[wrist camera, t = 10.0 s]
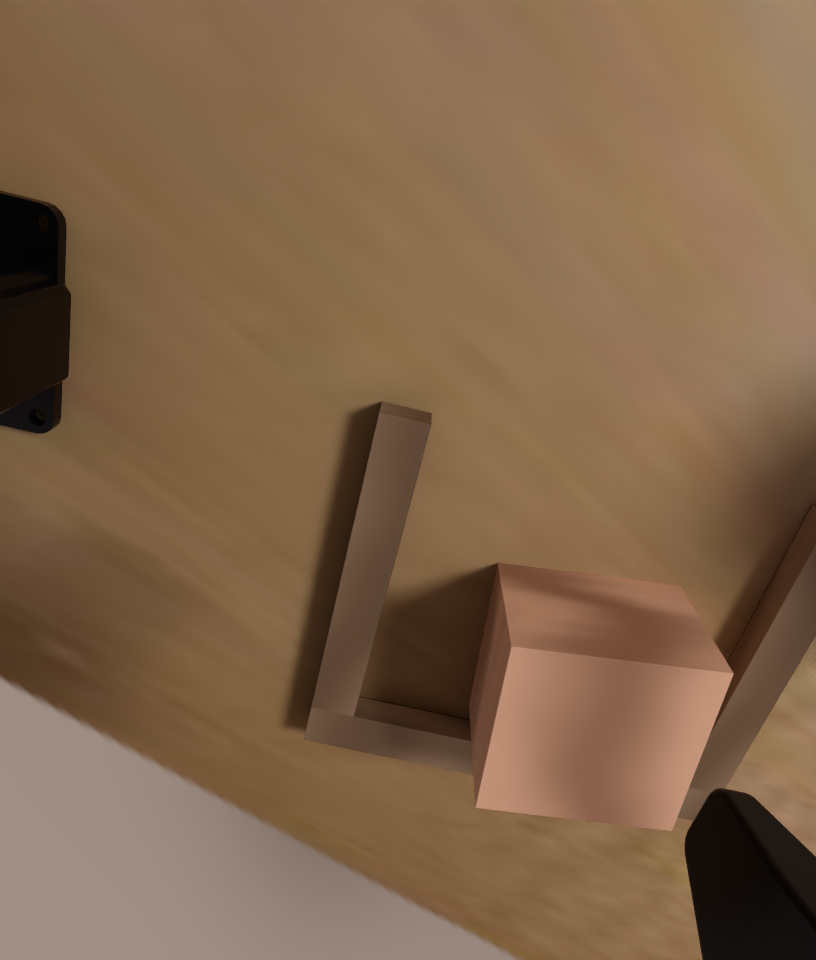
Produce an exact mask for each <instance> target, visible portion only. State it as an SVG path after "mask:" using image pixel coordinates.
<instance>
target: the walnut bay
mask: <svg viewBox="0 0 816 960" xmlns="http://www.w3.org/2000/svg"><path fill="white" fill-rule="evenodd" d="M431 414H432V413H427V412H423V411H419V410H415V409H411V408H406V407H402V406H398V405H394V404H390V403H386V402H382V404H381V408H380V412H379V416H378V420H377V425H376V429H375V433H374V438H373V442H372V446H371V451H370V455H369V459H368V464H367V468H366V472H365V477H364V481H363V485H362V490H361V494H360V498H359V503H358V507H357V511H356V516H355V520H354V524H353V529H352V533H351V537H350V542H349V546H348V550H347V555H346V559H345V563H344V568H343V572H342V576H341V581H340V585H339V589H338V594H337V598H336V602H335V607H334V611H333V615H332V620H331V624H330V628H329V633H328V637H327V641H326V646H325V650H324V654H323V659H322V663H321V667H320V672H319V676H318V680H317V685H316V689H315V693H314V698H313V702H312V706H311V711H310V715H309V719H308V724H307V728H306V732H305V737H304V740H309V741H314V742H319V743H323V744H328V745H333V746H338V747H343V748H347V749H352V750H357V751H362V752H367V753H371V754H376V755H381V756H386V757H391V758H395V759H400V760H405V761H410V762H415V763H419V764H424V765H429V766H434V767H439V768H443V769H448V770H453V771H458V772H463V773H467V774H472V775H473V761H472V745H471V730H470V721H469V720H465V719H460V718H455V717H451V716H446V715H441V714H437V713H432V712H427V711H423V710H418V709H413V708H408V707H404V706H399V705H394V704H390V703H385V702H380V701H376V700H371V699H366V698H362V697H359V694H360V691H361V687H362V683H363V679H364V676H365V672H366V668H367V664H368V661H369V657H370V653H371V649H372V646H373V642H374V638H375V634H376V630H377V627H378V623H379V619H380V615H381V612H382V608H383V604H384V600H385V597H386V593H387V589H388V585H389V582H390V578H391V574H392V570H393V567H394V563H395V559H396V555H397V551H398V548H399V544H400V540H401V536H402V533H403V529H404V525H405V521H406V518H407V514H408V510H409V506H410V503H411V499H412V495H413V491H414V488H415V484H416V480H417V476H418V472H419V469H420V465H421V461H422V457H423V454H424V450H425V446H426V442H427V439H428V435H429V431H430V427H431ZM815 636H816V506H815V505H812V506H811V508H810V510H809V512H808V514H807V516H806V517H805V519H804V521H803V523H802V525H801V527H800V529H799V531H798V532H797V534H796V536H795V538H794V540H793V542H792V544H791V545H790V547H789V549H788V551H787V553H786V555H785V557H784V558H783V560H782V562H781V564H780V566H779V568H778V570H777V571H776V573H775V575H774V577H773V579H772V581H771V583H770V584H769V586H768V588H767V590H766V592H765V594H764V596H763V597H762V599H761V601H760V603H759V605H758V607H757V609H756V610H755V612H754V614H753V616H752V618H751V620H750V622H749V623H748V625H747V627H746V629H745V631H744V633H743V635H742V636H741V638H740V640H739V642H738V644H737V646H736V648H735V649H734V651H733V653H732V655H731V657H730V659H729V661H728V665H729V667H730V668H731V670H732V671H733V673H734V674H733V677H732V679H731V682H730V685H729V687H728V690H727V692H726V695H725V697H724V700H723V702H722V705H721V707H720V710H719V712H718V715H717V718H716V720H715V723H714V725H713V728H712V730H711V733H710V735H709V738H708V740H707V743H706V746H705V748H704V751H703V753H702V756H701V758H700V761H699V763H698V766H697V768H696V771H695V773H694V776H693V779H692V781H691V784H690V786H689V789H688V791H687V794H686V796H685V799H684V801H683V804H682V807H681V809H680V812H679V814H678V818H683V819H688V820H693V821H694V819H695V817H696V816H697V814H698V812H699V811H700V809H701V807H702V805H703V804H704V802H705V800H706V799H707V797H708V795H709V794H710V792H712V791H713V790H715V789H716V788H724V789H725V788H726V786H727V784H728V783H729V781H730V779H731V778H732V776H733V774H734V773H735V771H736V769H737V768H738V766H739V764H740V762H741V761H742V759H743V757H744V756H745V754H746V752H747V751H748V749H749V747H750V746H751V744H752V742H753V741H754V739H755V737H756V735H757V734H758V732H759V730H760V729H761V727H762V725H763V724H764V722H765V720H766V719H767V717H768V715H769V714H770V712H771V710H772V708H773V707H774V705H775V703H776V702H777V700H778V698H779V697H780V695H781V693H782V692H783V690H784V688H785V687H786V685H787V683H788V681H789V680H790V678H791V676H792V675H793V673H794V671H795V670H796V668H797V666H798V665H799V663H800V661H801V660H802V658H803V656H804V654H805V653H806V651H807V649H808V648H809V646H810V644H811V643H812V641H813V639H814V638H815Z"/></svg>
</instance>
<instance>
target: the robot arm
mask: <svg viewBox="0 0 816 960" xmlns="http://www.w3.org/2000/svg"><path fill="white" fill-rule="evenodd" d="M40 214H43V215H45V216H46V218H47V219H48V221H49V225H50V226H49V229H48V231H44V230H42V228H41V227H40V226H39V223H38V217H39V215H40ZM65 258H66V221H65V218H64V216H63V214H62V212H61V211H60V210H59V209H58V208H57V207H56V206H55V205H52V204H50V203H48V202H44V201H40V200H36V199H32V198H28V197H24V196H20V195H16V194H12V193H8V192H4V191H0V425H4V426H8V427H13V428H17V429H21V430H26V431H30V432H34V433H46V432H48V431H50V430H52V429H53V428H55V427H56V426H57V425H58V424H59V423H60V419H61V400H62V381H63V380H64V379H66V378H67V377H68V372H69V341H70V310H71V294H70V292H69V290H68V289H67V287H66V286H65ZM36 409H38V410H40V411H42V413H43V414H44V415H45V418H46V421H42V420H40V419H39V418H38V417H37V415H36ZM685 857H686V863H687V869H688V875H689V881H690V887H691V893H692V899H693V905H694V911H695V917H696V923H697V929H698V935H699V941H700V947H701V953H702V959H703V960H816V857H815V856H814V855H813V854H812V853H811V852H810V851H809V850H808V849H807V848H806V847H805V846H804V845H803V844H802V843H801V842H800V841H799V840H798V839H797V838H796V837H795V836H794V835H793V834H791V833H790V832H789V831H788V830H787V829H786V828H785V827H784V826H783V825H782V824H781V823H780V822H779V821H778V820H777V819H776V818H775V817H774V816H773V815H772V814H771V813H770V812H769V811H768V810H767V809H766V808H764V807H763V806H762V805H761V804H760V803H759V802H758V801H757V800H756V799H755V798H754V797H752V796H751V795H749V794H746V793H743V792H738V791H734V790H729V789H724V788H716V789H715V790H713V791H712V792H710V794H709V795H708V797H707V799H706V800H705V802H704V804H703V805H702V807H701V809H700V811H699V812H698V814H697V816H696V817H695V819H694V821H693V823H692V824H691V826H690V828H689V829H688V832H687V835H686V838H685Z"/></svg>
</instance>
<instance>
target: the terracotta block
mask: <svg viewBox="0 0 816 960" xmlns="http://www.w3.org/2000/svg"><path fill="white" fill-rule="evenodd" d="M733 674H734V673H733V671H732V670H731V668H730V667H729V665H728V663H727V662H726V660H725V658H724V657H723V655H722V654H721V652H720V650H719V649H718V647H717V645H716V644H715V642H714V641H713V639H712V637H711V636H710V634H709V632H708V631H707V629H706V627H705V626H704V624H703V623H702V621H701V619H700V618H699V616H698V614H697V613H696V611H695V610H694V608H693V606H692V605H691V603H690V601H689V600H688V598H687V596H686V595H685V593H684V592H683V590H682V588H681V587H680V586H679V585H671V584H663V583H655V582H647V581H639V580H631V579H623V578H614V577H606V576H598V575H590V574H582V573H574V572H566V571H558V570H550V569H542V568H534V567H526V566H518V565H510V564H502V563H498V564H497V569H496V574H495V579H494V584H493V589H492V594H491V599H490V604H489V608H488V613H487V618H486V623H485V628H484V633H483V638H482V643H481V648H480V653H479V658H478V663H477V668H476V673H475V678H474V683H473V688H472V693H471V698H470V703H469V714H470V730H471V745H472V761H473V776H474V791H475V807H476V808H483V809H491V810H499V811H508V812H516V813H525V814H533V815H542V816H550V817H558V818H567V819H575V820H584V821H592V822H601V823H609V824H617V825H626V826H634V827H643V828H651V829H660V830H668V831H672V829H673V827H674V824H675V822H676V819H677V817H678V814H679V812H680V809H681V807H682V804H683V801H684V799H685V796H686V794H687V791H688V789H689V786H690V784H691V781H692V779H693V776H694V773H695V771H696V768H697V766H698V763H699V761H700V758H701V756H702V753H703V751H704V748H705V746H706V743H707V740H708V738H709V735H710V733H711V730H712V728H713V725H714V723H715V720H716V718H717V715H718V712H719V710H720V707H721V705H722V702H723V700H724V697H725V695H726V692H727V690H728V687H729V685H730V682H731V679H732V677H733Z"/></svg>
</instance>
